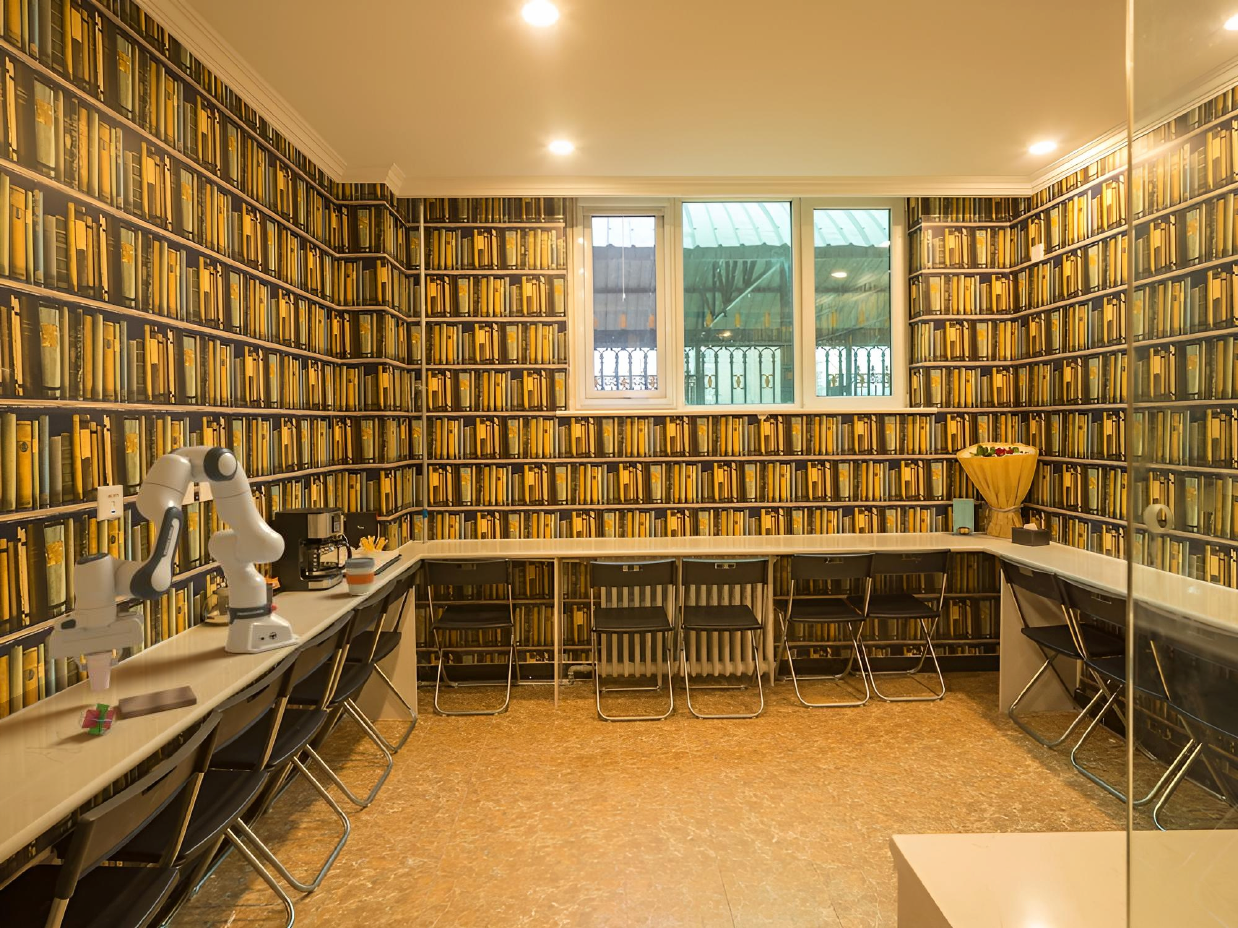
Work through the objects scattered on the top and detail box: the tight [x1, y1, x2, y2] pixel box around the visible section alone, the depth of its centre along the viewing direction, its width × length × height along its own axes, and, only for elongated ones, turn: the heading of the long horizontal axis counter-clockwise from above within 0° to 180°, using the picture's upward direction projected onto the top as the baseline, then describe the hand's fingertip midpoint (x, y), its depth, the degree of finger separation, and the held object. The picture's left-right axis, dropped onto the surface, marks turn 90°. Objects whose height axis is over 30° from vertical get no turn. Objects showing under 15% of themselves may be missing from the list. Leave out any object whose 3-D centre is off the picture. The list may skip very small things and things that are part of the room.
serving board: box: [118, 685, 198, 720], centre depth 189 cm, size 16×12×2 cm
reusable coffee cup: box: [344, 556, 376, 596], centre depth 319 cm, size 13×12×15 cm
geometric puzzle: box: [77, 702, 118, 737], centre depth 172 cm, size 7×7×8 cm
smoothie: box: [82, 649, 114, 692], centre depth 190 cm, size 6×6×14 cm
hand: (99, 668), depth 191 cm, fingers closed on smoothie, 5 cm apart
